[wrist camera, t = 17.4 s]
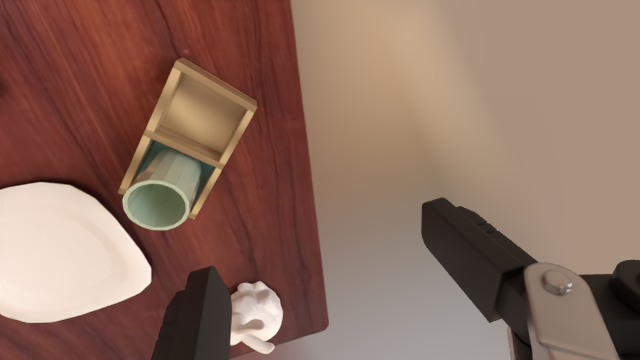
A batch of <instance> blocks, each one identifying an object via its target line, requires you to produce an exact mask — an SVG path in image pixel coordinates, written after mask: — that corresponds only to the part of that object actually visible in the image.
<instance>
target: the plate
mask: <svg viewBox="0 0 640 360" xmlns="http://www.w3.org/2000/svg"><path fill="white" fill-rule="evenodd" d="M150 283H151V266H150V264H149V263H148V261H147V259H146V257H145V256H144V254H143V252H142V251H141V249H140V248H139V247H138V245H137V244H136V243H135V242H134V240H133V239H132V238H131V236H130V235H129V234H128V233H127V231H126V230H125V229H124V228H123V226H122V225H121V224H120V223H119V221H118V220H117V219H116V218H115V217H114V215H113V214H112V213H111V212H110V211H109V210H107V209H106V208H105V207H104V206H103V205H102V204H101V203H100V202H99V201H98V200H97V199H96V198H95V197H93V196H91V195H90V194H88V193H86V192H84V191H82V190H80V189H78V188H77V187H75V186H73V185H71V184H61V183H51V182H42V181H41V182H35V183H30V184H24V185H18V186H12V187H7V188H4V189H0V314H1V315H3V316H5V317H9V318H12V319H16V320H20V321H23V322H27V323H40V322H55V321H59V320H63V319H67V318H71V317H75V316H79V315H82V314H85V313H88V312H91V311H94V310H97V309H100V308H103V307H106V306H109V305H112V304H115V303H118V302H120V301H123V300H125V299H127V298H129V297H132V296H134V295H136V294H138V293H140V292H141V291H142V290H143V289H144V288H145V287H146V286H147V285H149V284H150Z"/></svg>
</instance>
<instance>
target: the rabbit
mask: <svg viewBox="0 0 640 360" xmlns="http://www.w3.org/2000/svg"><path fill="white" fill-rule="evenodd" d="M231 300H232V323H231V339H230V345H235V344H237V343H239V342H240V341H242V342H244V343H245V344H247V345H248V346H249V347H251V348H253V349H254V350H256V351H258V352H260V353H264V354H268V353H270V352H271V351H272V350H273V349H274V344H272V343H268V342H265V341H266V340H269V339H270V338H271V337H273V336H274V335H275V334H276V333H277V332H278V330H279V328H280V326H281V322H282V317H283V311H282V308H281V305H280V299H279V298H278V297H277V295H276V294H275V292H274V291H272V290H271V289H269V288H268V287H267V286H266V285H265V284H264V283H263V282H260V281H259V282H256V283H254V284H250V283H241V284H239V285H238V291H237V292H235V293H233V294H232V295H231Z"/></svg>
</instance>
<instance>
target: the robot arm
mask: <svg viewBox="0 0 640 360" xmlns="http://www.w3.org/2000/svg"><path fill="white" fill-rule="evenodd" d="M421 233H422V238H423V241H424V243H425V245H426V247H427V248H428V249H429V251H430V252H431V253H432V254H433V255H434V257H435V258H436V259H437V260H438V261H439V263H440V264H441V265H442V266H443V267H444V268H445V270H446V271H447V272H448V273H449V275H450V276H451V277H452V278H453V279H454V281H455V282H456V283H457V284H458V285H459V287H460V288H461V289H462V290H463V291H464V293H465V294H466V295H467V296H468V297H469V299H470V300H471V301H472V302H473V303H474V305H475V306H476V307H477V308H478V309H479V310H480V312H481V313H482V314H483V315H484V317H485V318H486V319H487V320H488V321H489V323H491V322H493V321H496V320H499V319H503V320H504V321H505V322H506V323H507V324H508V329H507V330H508V331H507V332H508V340H509V348H510V356H511V360H640V260H626V261H623V262H620V263H619V264H618V265H617V266H616V268H615V270H614V272H613V274H597V275H596V274H594V275H577V274H576V273H574V272H573V271H571V270H569V269H567V268H565V267H562V266H560V265H556V264H552V263H539V262H538V261H536V260H535V259H534V258H532V257H531V256H530V255H529V254H527V253H526V252H525V251H524V250H522V249H521V248H520V247H518V246H517V245H516V244H515V243H513V242H512V241H511V240H510V239H508V238H507V237H506V236H504V235H503V234H502V233H501V232H499V231H497V230H496V228H494V227H493V226H492V225H491V224H489V223H487V221H485V220H484V219H483V218H482V217H480V216H479V215H478V214H477V213H475V212H473V211H470V210H468V209H466V208H464V207H461V206H460V207H455V206H454V205H453V204H452V203H450V202H449V201H448V200H447V199H445V198H438V199H435V200H432V201H428V202H425V203H423V205H422V231H421ZM231 323H232V301H231V297H230V294H229V291H228V290H227V288H226V286H225V284H224V282H223V280H222V279H221V277H220V275H219V273H218V271H217V269H216V268H215V267H214V266H209V267H206V268H202V269H199V270H196V271H192V272H190V274H189V276H188V279H187V283H186V287H185V290H182V291H179V292H177V293H176V295H175V296H174V298H173V299H172V301H171V302H170V304H169V305H168V306H167V309H166V312H165V316H164V319H163V322H162V324H163V326H161V329H160V332H159V335H158V337H159V339H158V340H157V342H156V345H155V349H154V352H153V355H152V358H151V360H229V355H230V339H231Z"/></svg>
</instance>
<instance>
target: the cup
mask: <svg viewBox="0 0 640 360" xmlns="http://www.w3.org/2000/svg"><path fill="white" fill-rule="evenodd" d="M201 177H202V166H201V163H200V161H199V160H198V159H196V158H194V157H192V156H189V155H187V154H185V153H183V152H180V151H178V150H176V149H174V148H166V149H163V150H161V151H159V152H158V153H157V154H156V155H155V156H153V158H152V159H151V160H150V161H149V163H148V164H147V165H146V166H145V168H144V169H143V170H142V172H141V173H140V174H139V175H138V177H137V178H136V179H135V180H134V182H133V183H132V184H131V185H130V187H129V188H128V189H127V191H126V193H125V195H124V197H123V200H122V201H123V209H124V211H125V213H126V214H127V216H128V217H129V219H130V220H132V221H133V222H135V223H136V224H138V225H139V226H141V227H144V228H148V229H151V230H168V229H171V228H175V227H177V226H179V225H180V224H181V223H183V222H184V221H185V220H186V218H187V216H188V214H189V213H190V210H191V207H192V204H193V201H194V198H195V195H196V192H197V189H198V186H199V183H200V180H201Z"/></svg>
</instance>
